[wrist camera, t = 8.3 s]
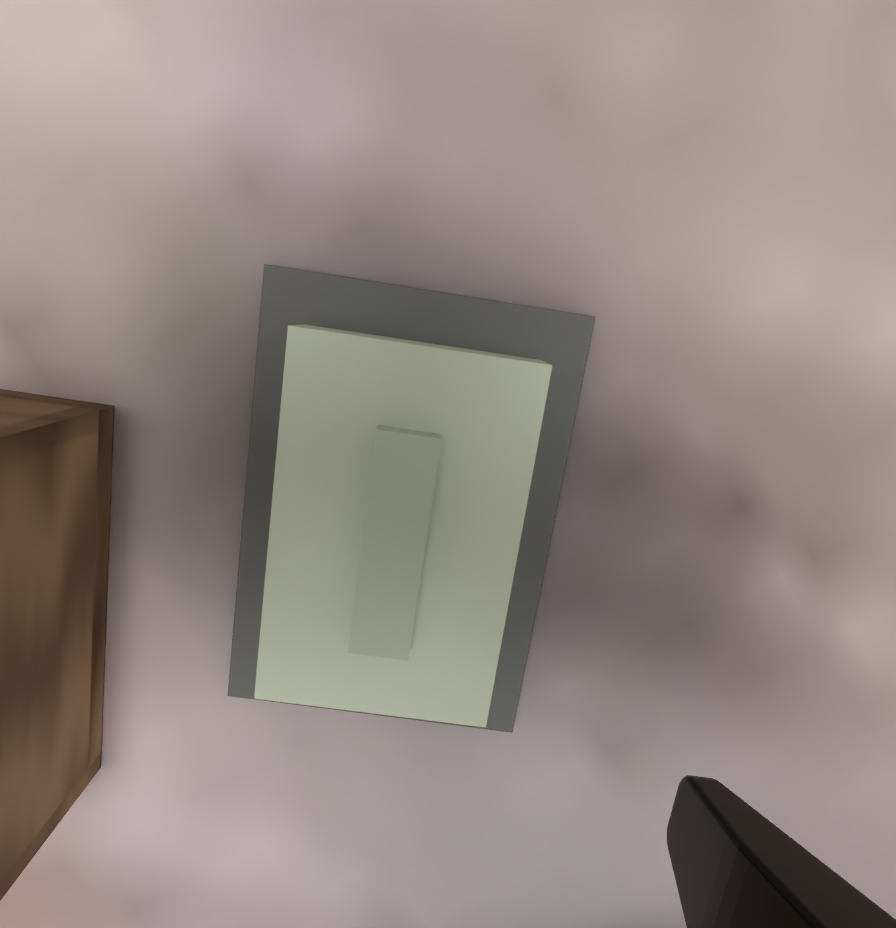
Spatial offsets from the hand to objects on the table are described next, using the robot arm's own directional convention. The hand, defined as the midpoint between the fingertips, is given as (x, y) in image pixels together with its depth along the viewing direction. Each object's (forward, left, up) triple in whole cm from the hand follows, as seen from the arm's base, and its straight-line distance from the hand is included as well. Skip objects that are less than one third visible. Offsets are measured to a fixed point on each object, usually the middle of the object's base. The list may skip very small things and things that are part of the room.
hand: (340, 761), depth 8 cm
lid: (0, 0, -11) cm, 11 cm away
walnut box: (+11, +4, -11) cm, 16 cm away
